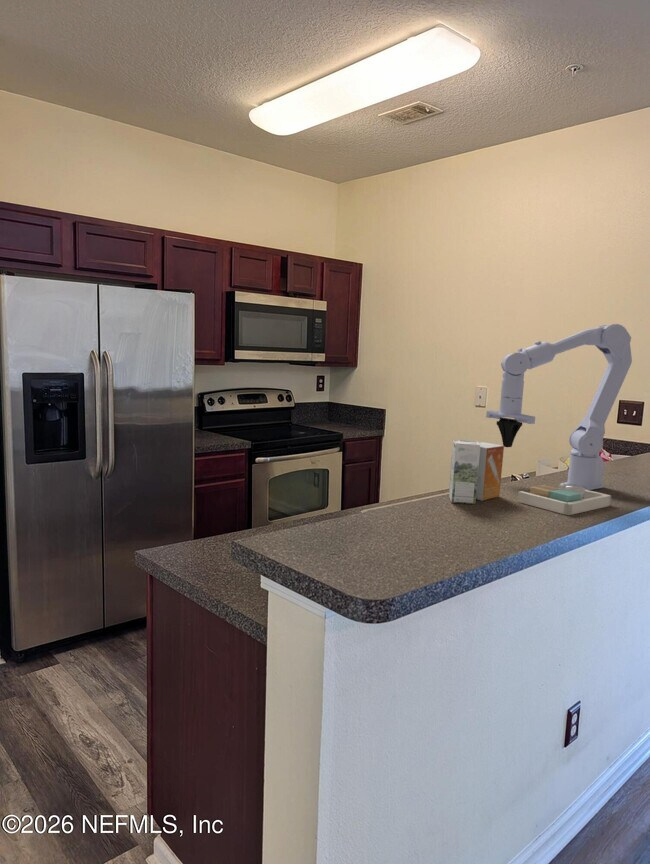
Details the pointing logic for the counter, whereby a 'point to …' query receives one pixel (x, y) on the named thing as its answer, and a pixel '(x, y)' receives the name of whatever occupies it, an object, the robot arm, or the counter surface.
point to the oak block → (542, 490)
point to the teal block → (565, 495)
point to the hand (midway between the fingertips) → (507, 446)
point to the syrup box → (464, 471)
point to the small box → (489, 471)
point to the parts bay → (588, 503)
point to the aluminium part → (575, 489)
